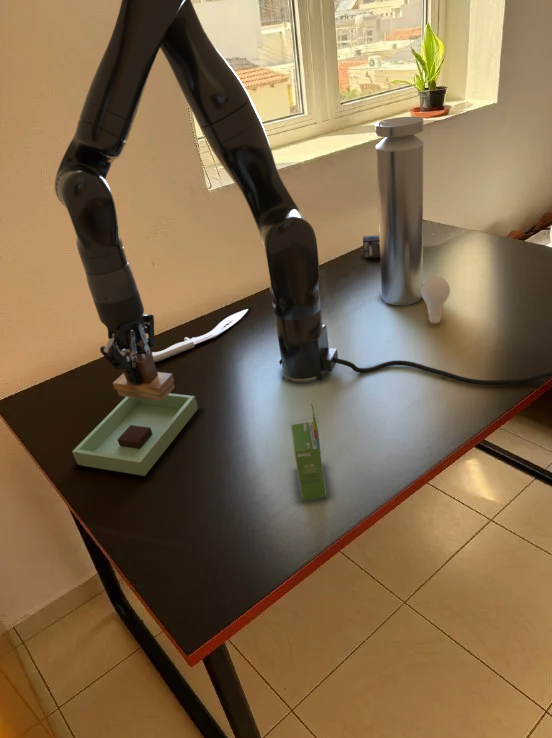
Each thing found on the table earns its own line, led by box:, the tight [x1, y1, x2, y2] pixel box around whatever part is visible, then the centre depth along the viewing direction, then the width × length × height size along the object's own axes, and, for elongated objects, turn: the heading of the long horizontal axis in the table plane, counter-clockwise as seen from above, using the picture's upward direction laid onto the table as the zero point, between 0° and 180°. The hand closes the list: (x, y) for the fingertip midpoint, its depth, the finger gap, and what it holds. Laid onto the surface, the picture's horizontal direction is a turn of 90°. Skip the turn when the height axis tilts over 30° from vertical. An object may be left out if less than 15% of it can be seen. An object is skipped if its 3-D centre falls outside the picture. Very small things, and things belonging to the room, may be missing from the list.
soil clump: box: [117, 425, 152, 449], centre depth 105 cm, size 4×4×2 cm
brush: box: [112, 353, 175, 401], centre depth 105 cm, size 10×5×8 cm, turn 71°
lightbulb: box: [421, 276, 451, 325], centre depth 126 cm, size 6×6×11 cm
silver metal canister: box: [374, 116, 425, 307], centre depth 131 cm, size 10×10×40 cm
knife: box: [151, 308, 249, 363], centre depth 138 cm, size 30×2×8 cm
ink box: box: [290, 402, 327, 501], centre depth 87 cm, size 7×4×13 cm, turn 5°
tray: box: [71, 392, 199, 477], centre depth 106 cm, size 14×20×4 cm
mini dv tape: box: [362, 234, 380, 259], centre depth 165 cm, size 8×2×6 cm, turn 80°
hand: (142, 377), depth 105 cm, fingers closed on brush, 3 cm apart
